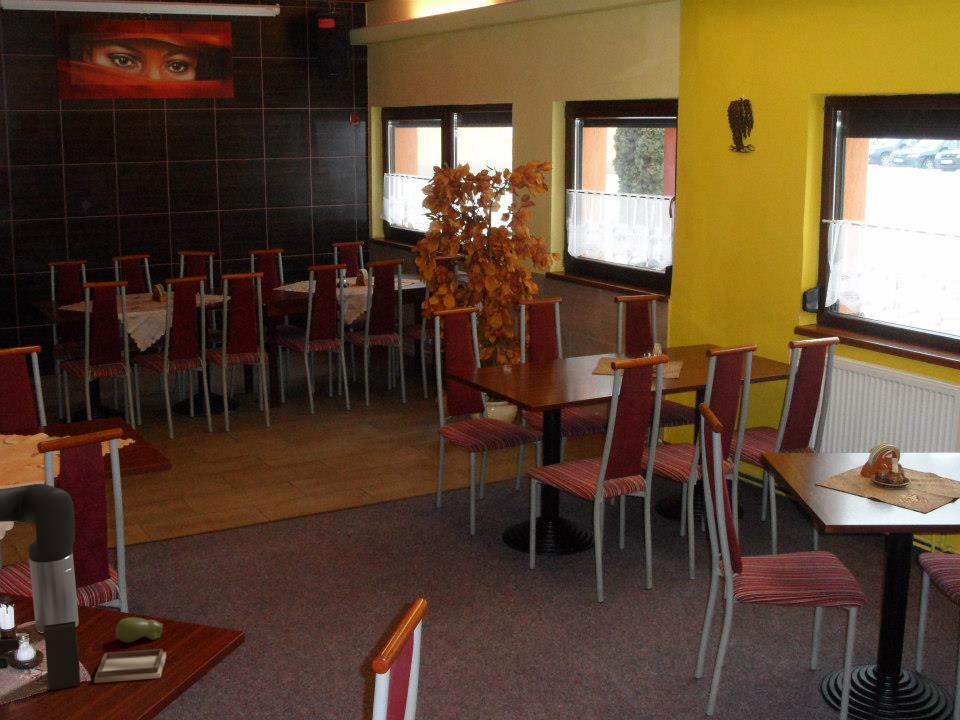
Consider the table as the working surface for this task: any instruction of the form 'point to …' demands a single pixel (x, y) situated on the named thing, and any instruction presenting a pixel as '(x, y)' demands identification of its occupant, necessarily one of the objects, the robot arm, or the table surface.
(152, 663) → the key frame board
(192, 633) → the table surface
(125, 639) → the pear
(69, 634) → the phone stand
